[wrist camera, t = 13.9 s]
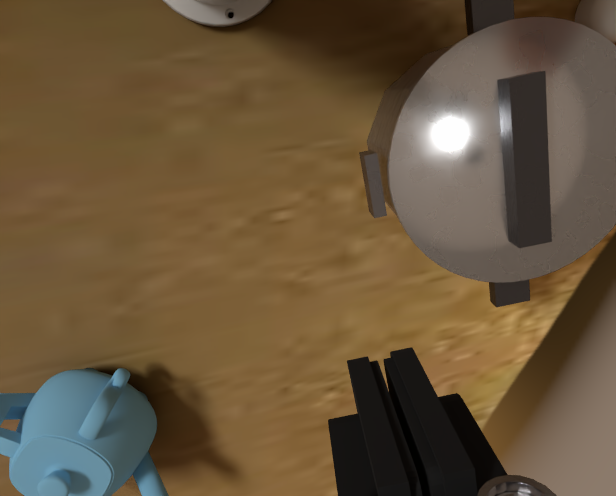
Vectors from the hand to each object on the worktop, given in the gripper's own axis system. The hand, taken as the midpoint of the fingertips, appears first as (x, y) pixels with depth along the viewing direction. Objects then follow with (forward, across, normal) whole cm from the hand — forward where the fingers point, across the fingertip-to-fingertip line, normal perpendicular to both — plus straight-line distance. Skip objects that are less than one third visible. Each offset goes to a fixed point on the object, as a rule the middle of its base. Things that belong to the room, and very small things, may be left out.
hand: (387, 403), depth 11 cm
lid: (+24, -15, 0) cm, 29 cm away
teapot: (+35, +28, +21) cm, 50 cm away
